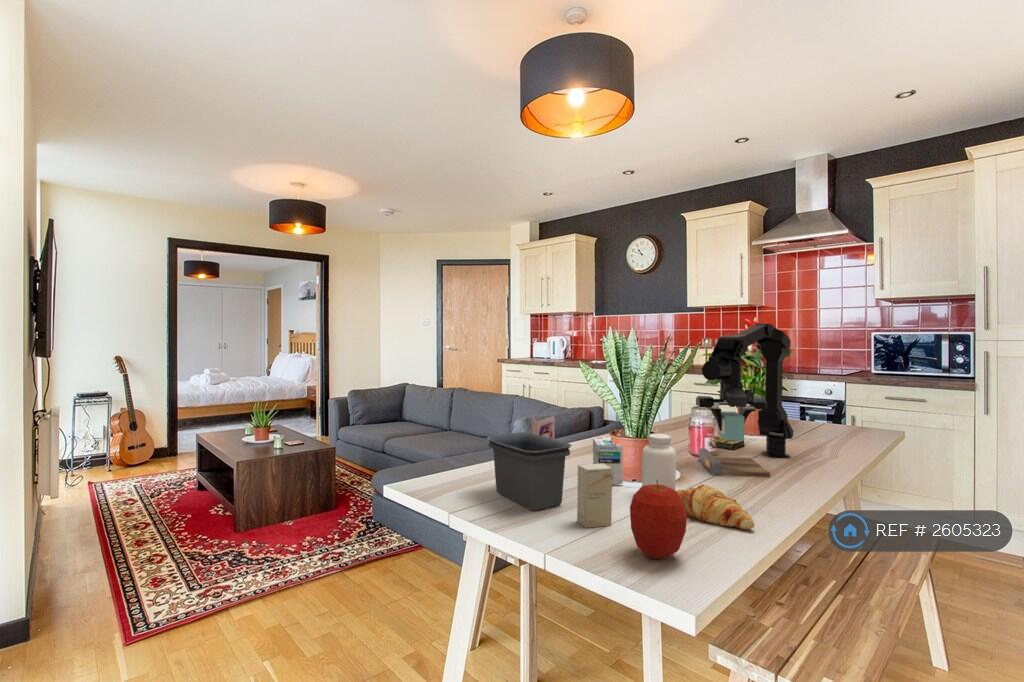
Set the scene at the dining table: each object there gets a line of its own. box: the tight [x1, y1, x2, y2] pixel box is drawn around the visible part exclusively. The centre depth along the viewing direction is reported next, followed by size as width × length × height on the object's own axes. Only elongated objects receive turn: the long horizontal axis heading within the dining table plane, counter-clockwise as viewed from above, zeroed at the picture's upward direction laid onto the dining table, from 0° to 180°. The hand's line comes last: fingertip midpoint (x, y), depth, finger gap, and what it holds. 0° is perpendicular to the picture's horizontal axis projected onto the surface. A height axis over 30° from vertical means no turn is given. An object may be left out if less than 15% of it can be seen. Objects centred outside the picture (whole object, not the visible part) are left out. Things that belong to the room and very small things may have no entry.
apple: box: [629, 480, 688, 560], centre depth 91 cm, size 10×10×14 cm
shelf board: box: [714, 456, 771, 478], centre depth 150 cm, size 17×13×1 cm
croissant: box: [675, 483, 755, 530], centre depth 111 cm, size 21×10×8 cm, turn 33°
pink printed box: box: [531, 414, 555, 439], centre depth 150 cm, size 11×7×15 cm, turn 150°
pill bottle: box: [641, 433, 677, 491], centre depth 124 cm, size 8×8×15 cm
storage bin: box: [486, 431, 573, 511], centre depth 123 cm, size 21×16×14 cm
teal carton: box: [717, 410, 745, 442], centre depth 150 cm, size 5×9×7 cm, turn 172°
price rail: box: [698, 447, 722, 477], centre depth 151 cm, size 18×2×4 cm, turn 172°
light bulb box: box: [592, 436, 624, 486], centre depth 138 cm, size 11×7×11 cm, turn 179°
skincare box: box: [576, 463, 613, 529], centre depth 107 cm, size 6×4×12 cm
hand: (730, 431), depth 150 cm, fingers closed on teal carton, 5 cm apart
